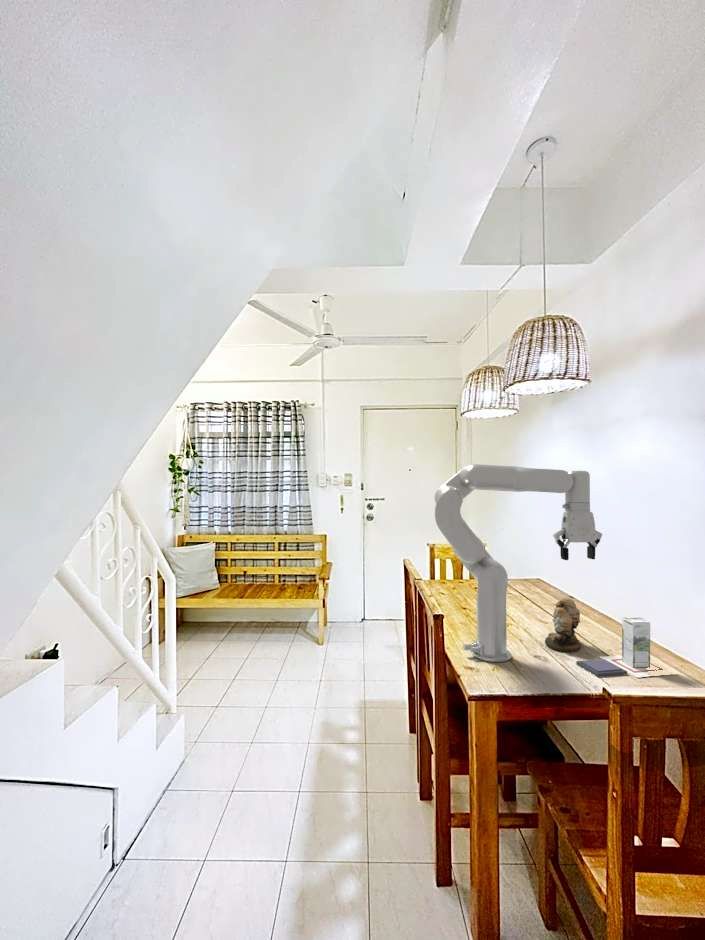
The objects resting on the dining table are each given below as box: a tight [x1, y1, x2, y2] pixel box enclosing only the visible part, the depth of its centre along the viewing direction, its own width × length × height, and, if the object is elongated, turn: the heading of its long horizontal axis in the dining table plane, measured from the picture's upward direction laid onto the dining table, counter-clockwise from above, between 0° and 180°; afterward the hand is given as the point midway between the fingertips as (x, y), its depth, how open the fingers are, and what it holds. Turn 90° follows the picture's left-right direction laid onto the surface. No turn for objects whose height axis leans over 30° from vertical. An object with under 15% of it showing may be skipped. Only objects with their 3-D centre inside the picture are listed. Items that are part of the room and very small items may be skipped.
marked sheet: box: [598, 654, 663, 679], centre depth 156 cm, size 14×17×1 cm
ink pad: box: [575, 658, 628, 677], centre depth 153 cm, size 10×10×1 cm
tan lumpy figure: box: [544, 596, 582, 654], centre depth 176 cm, size 18×12×17 cm, turn 158°
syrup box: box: [621, 616, 651, 668], centre depth 156 cm, size 6×6×14 cm
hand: (578, 559), depth 164 cm, fingers open, 9 cm apart
